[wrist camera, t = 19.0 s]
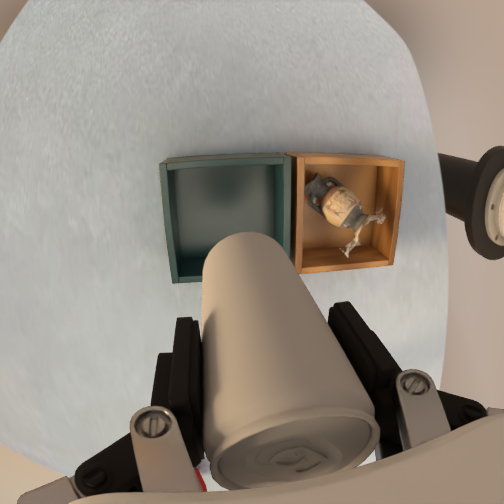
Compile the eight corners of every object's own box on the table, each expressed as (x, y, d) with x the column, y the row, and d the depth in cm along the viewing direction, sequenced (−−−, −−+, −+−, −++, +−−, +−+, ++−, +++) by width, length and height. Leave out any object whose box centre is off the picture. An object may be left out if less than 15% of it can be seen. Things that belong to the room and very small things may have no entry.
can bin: (278, 152, 27) (291, 156, 23) (278, 254, 31) (289, 275, 27) (167, 158, 26) (158, 163, 22) (177, 261, 30) (172, 284, 26)
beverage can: (252, 210, 16) (338, 377, 5) (303, 271, 18) (405, 441, 7) (185, 265, 17) (163, 467, 6) (240, 319, 19) (276, 506, 8)
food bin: (379, 155, 28) (404, 161, 24) (372, 247, 32) (393, 265, 28) (284, 152, 27) (297, 156, 23) (283, 254, 31) (295, 274, 27)
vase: (317, 239, 30) (284, 191, 27) (356, 205, 30) (328, 156, 27) (345, 260, 25) (310, 205, 22) (390, 220, 25) (361, 162, 22)
